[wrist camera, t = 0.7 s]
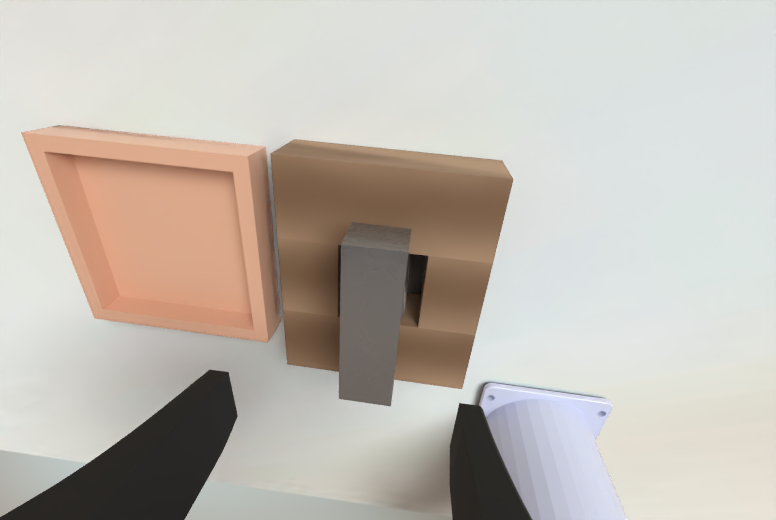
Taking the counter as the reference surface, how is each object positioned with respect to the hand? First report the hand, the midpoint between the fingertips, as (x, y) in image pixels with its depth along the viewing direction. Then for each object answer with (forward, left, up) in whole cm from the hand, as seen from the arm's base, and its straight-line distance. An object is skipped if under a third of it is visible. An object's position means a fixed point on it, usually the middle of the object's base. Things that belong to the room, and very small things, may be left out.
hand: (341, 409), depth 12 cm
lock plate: (0, 0, -10) cm, 10 cm away
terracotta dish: (0, +12, -10) cm, 16 cm away
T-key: (0, 0, -10) cm, 10 cm away
